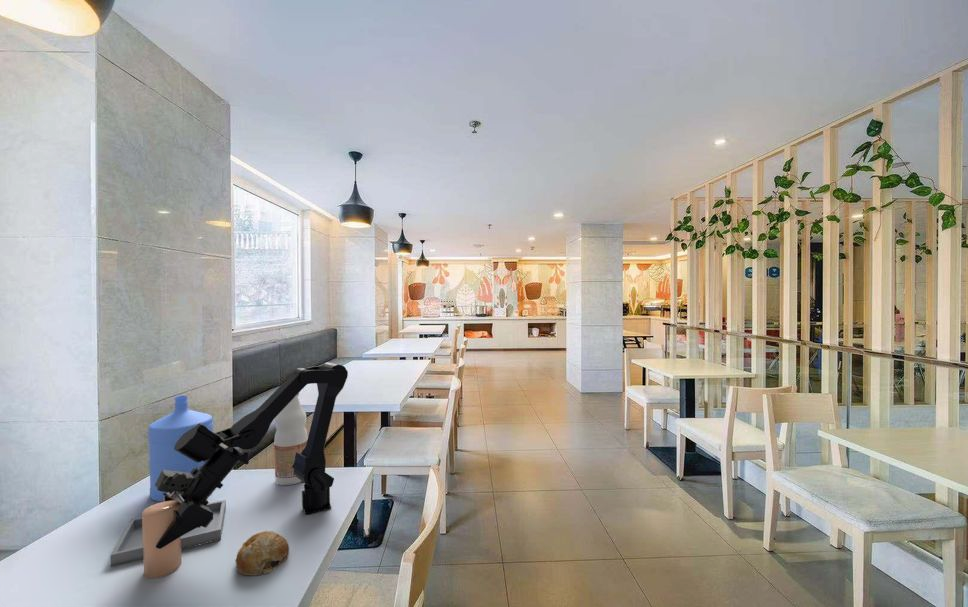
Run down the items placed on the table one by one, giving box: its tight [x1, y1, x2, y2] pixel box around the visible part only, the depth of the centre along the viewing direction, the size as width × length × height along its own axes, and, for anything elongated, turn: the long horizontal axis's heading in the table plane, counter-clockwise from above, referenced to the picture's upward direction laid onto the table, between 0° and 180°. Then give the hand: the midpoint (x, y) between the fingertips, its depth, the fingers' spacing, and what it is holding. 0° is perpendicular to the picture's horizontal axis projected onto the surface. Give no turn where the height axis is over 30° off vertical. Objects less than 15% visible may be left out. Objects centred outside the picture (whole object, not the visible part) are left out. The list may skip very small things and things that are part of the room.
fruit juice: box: [273, 392, 308, 486], centre depth 130 cm, size 9×9×28 cm
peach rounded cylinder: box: [141, 501, 183, 579], centre depth 88 cm, size 6×6×13 cm
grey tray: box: [110, 499, 227, 567], centre depth 101 cm, size 20×16×2 cm
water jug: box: [147, 395, 214, 502], centre depth 123 cm, size 16×16×28 cm
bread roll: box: [235, 530, 290, 577], centre depth 90 cm, size 10×10×8 cm
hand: (154, 540), depth 87 cm, fingers open, 7 cm apart
